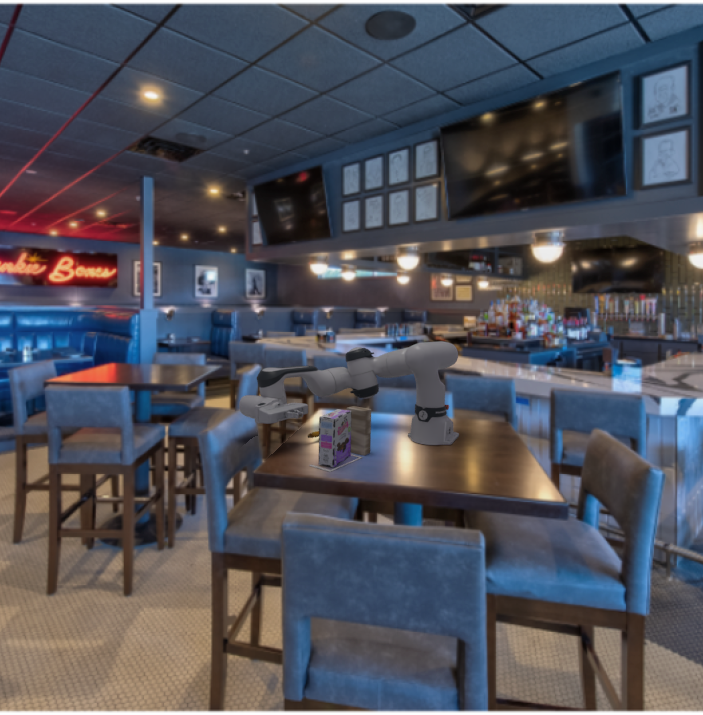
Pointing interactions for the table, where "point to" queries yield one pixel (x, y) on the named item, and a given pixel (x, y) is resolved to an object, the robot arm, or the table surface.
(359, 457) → the slot outline
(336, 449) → the candy box
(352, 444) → the ash tower
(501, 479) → the table surface
